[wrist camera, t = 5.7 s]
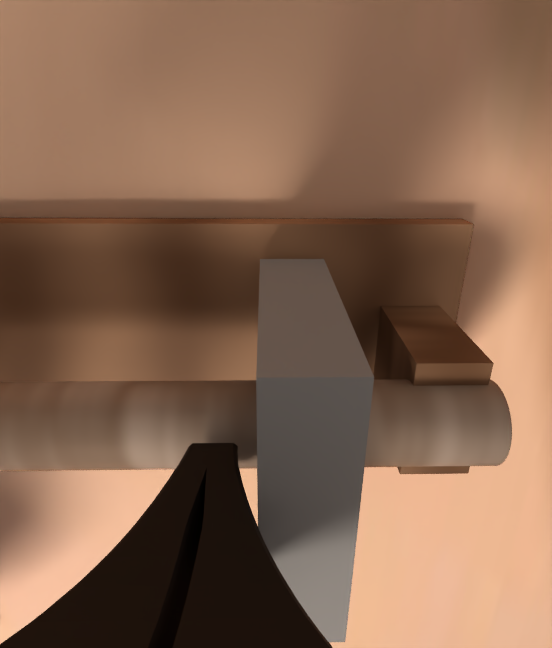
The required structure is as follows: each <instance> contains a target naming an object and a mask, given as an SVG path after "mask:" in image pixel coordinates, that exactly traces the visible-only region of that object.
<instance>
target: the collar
mask: <svg viewBox="0 0 552 648" xmlns="http://www.w3.org/2000/svg"><path fill="white" fill-rule="evenodd" d="M373 383H374V375H373V373H372V371H371V368H370V366H369V364H368V361H367V359H366V357H365V354H364V352H363V350H362V347H361V345H360V342H359V340H358V338H357V335H356V333H355V331H354V328H353V326H352V324H351V321H350V319H349V317H348V314H347V312H346V310H345V307H344V305H343V303H342V300H341V298H340V295H339V293H338V291H337V288H336V286H335V284H334V281H333V279H332V277H331V274H330V272H329V270H328V267H327V265H326V263H325V260H324V259H260V274H259V306H258V338H257V369H256V400H257V479H258V529H259V531H260V533H261V535H262V538H263V540H264V542H265V544H266V546H267V548H268V550H269V552H270V554H271V556H272V558H273V560H274V561H275V563H276V565H277V567H278V569H279V571H280V572H281V574H282V576H283V577H284V579H285V580H286V582H287V584H288V585H289V587H290V589H291V590H292V592H293V593H294V595H295V597H296V598H297V600H298V601H299V603H300V604H301V606H302V607H303V609H304V610H305V611H306V613H307V614H308V616H309V617H310V619H311V620H312V621H313V623H314V624H315V625H316V627H317V628H318V629H319V631H320V632H321V633H322V634H323V636H324V637H325V638H326V640H327V641H328V642H345V638H346V629H347V620H348V611H349V602H350V593H351V584H352V575H353V565H354V556H355V547H356V538H357V529H358V520H359V511H360V502H361V493H362V483H363V474H364V465H365V456H366V447H367V438H368V429H369V420H370V411H371V401H372V392H373Z"/></svg>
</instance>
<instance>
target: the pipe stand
mask: <svg viewBox="0 0 552 648" xmlns="http://www.w3.org/2000/svg"><path fill="white" fill-rule="evenodd" d="M473 226H474V224H472V223H470V222H468V221H466V220H464V219H184V218H0V471H50V470H143V469H176V467H177V466H178V464H179V463H180V461H181V459H182V458H183V456H184V454H185V452H186V450H187V449H188V447H189V446H190V445H191V444H192V443H235V444H236V445H237V446H238V465H239V468H257V400H256V369H257V338H258V306H259V274H260V259H324V260H325V263H326V265H327V267H328V270H329V272H330V274H331V277H332V279H333V281H334V284H335V286H336V288H337V291H338V293H339V295H340V298H341V300H342V303H343V305H344V307H345V310H346V312H347V314H348V317H349V319H350V321H351V324H352V326H353V328H354V331H355V333H356V335H357V338H358V340H359V342H360V345H361V347H362V350H363V352H364V354H365V357H366V359H367V361H368V364H369V366H370V368H371V371H372V373H373V375H374V383H373V392H372V401H371V411H370V420H369V429H368V438H367V447H366V456H365V465H364V467H398V470H399V473H400V474H453V473H468V472H469V467H470V466H497V465H500V464H502V463H503V462H504V461H505V459H506V458H507V456H508V453H509V450H510V446H511V439H512V424H511V416H510V411H509V407H508V404H507V401H506V398H505V396H504V394H503V392H502V391H501V389H500V388H499V386H498V385H497V384H496V383H495V382H494V381H492V380H490V376H491V372H492V367H493V362H492V361H491V360H490V359H489V358H488V357H487V356H486V355H485V354H484V353H483V352H482V350H481V349H480V348H479V347H478V346H477V345H476V344H475V343H474V342H473V341H472V340H471V339H470V338H469V337H468V336H467V334H466V333H465V332H464V331H463V330H462V329H461V328H460V327H459V326H458V325H457V324H456V319H457V313H458V308H459V302H460V297H461V292H462V286H463V281H464V275H465V270H466V264H467V259H468V254H469V248H470V243H471V237H472V232H473Z"/></svg>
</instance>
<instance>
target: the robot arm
mask: <svg viewBox="0 0 552 648" xmlns="http://www.w3.org/2000/svg"><path fill="white" fill-rule="evenodd" d="M0 648H332V646H331V645H330V643H329V642H328V641H327V640H326V638H325V637H324V636H323V634H322V633H321V632H320V631H319V629H318V628H317V627H316V625H315V624H314V623H313V621H312V620H311V619H310V617H309V616H308V614H307V613H306V611H305V610H304V609H303V607H302V606H301V604H300V603H299V601H298V600H297V598H296V597H295V595H294V593H293V592H292V590H291V589H290V587H289V585H288V584H287V582H286V580H285V579H284V577H283V576H282V574H281V572H280V571H279V569H278V567H277V565H276V563H275V561H274V560H273V558H272V556H271V554H270V552H269V550H268V548H267V546H266V544H265V542H264V540H263V538H262V535H261V533H260V531H259V529H258V526H257V524H256V521H255V519H254V516H253V514H252V511H251V508H250V506H249V503H248V500H247V497H246V493H245V490H244V487H243V483H242V480H241V475H240V471H239V465H238V446H237V445H236V444H235V443H192V444H191V445H190V446H189V447H188V449H187V450H186V452H185V454H184V456H183V458H182V459H181V461H180V463H179V464H178V466H177V467H176V469H175V471H174V472H173V474H172V475H171V477H170V478H169V480H168V481H167V483H166V484H165V485H164V487H163V488H162V490H161V491H160V493H159V494H158V495H157V497H156V498H155V500H154V501H153V502H152V504H151V505H150V506H149V507H148V509H147V510H146V511H145V512H144V514H143V515H142V516H141V517H140V519H139V520H138V521H137V523H136V524H135V525H134V526H133V527H132V528H131V530H130V531H129V532H128V533H127V534H126V535H125V537H124V538H123V539H122V540H121V541H120V542H119V543H118V544H117V545H116V546H115V547H114V548H113V550H112V551H111V552H110V553H109V554H108V555H107V556H106V557H105V558H104V559H103V560H102V561H101V562H100V563H99V564H98V565H97V566H96V567H95V568H94V569H93V570H92V571H90V572H89V573H88V574H87V575H86V576H85V577H84V578H83V579H82V580H81V581H80V582H79V583H78V584H76V585H75V586H74V587H73V588H72V589H71V590H69V591H68V592H67V593H66V594H65V595H64V596H62V597H61V598H60V599H59V600H58V601H56V602H55V603H54V604H53V605H52V606H50V607H49V608H48V609H47V610H46V611H45V612H43V613H42V614H41V615H40V616H38V617H37V618H36V619H34V620H33V621H32V622H31V623H29V624H28V625H26V626H25V627H24V628H22V629H21V630H20V631H18V632H17V633H15V634H14V635H13V636H11V637H10V638H8V639H7V640H6V641H4V642H3V643H1V644H0Z"/></svg>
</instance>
